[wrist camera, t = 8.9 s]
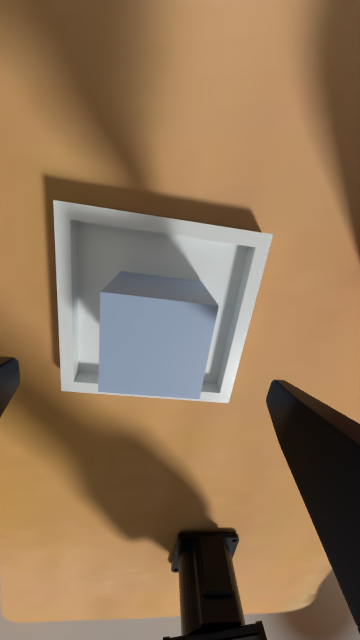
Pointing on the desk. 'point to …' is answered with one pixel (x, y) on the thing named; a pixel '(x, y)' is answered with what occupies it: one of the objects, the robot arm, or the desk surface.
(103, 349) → the block
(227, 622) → the robot arm
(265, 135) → the desk surface
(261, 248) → the tray
